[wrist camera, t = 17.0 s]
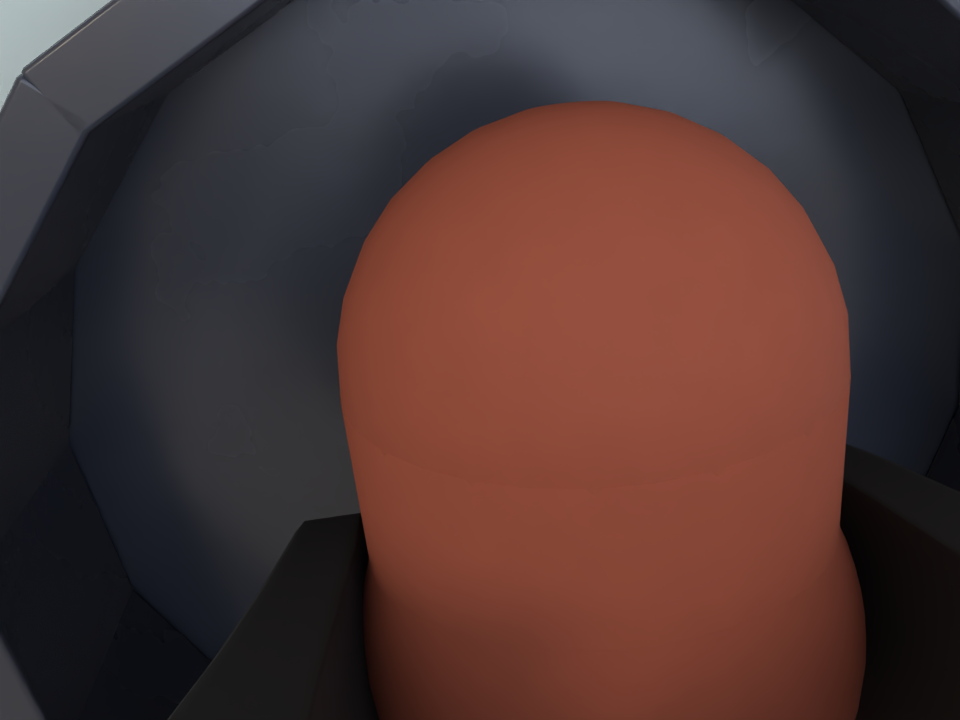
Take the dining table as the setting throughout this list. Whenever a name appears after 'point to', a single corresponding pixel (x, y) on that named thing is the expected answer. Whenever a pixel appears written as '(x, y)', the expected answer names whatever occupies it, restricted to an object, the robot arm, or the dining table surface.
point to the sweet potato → (601, 432)
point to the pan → (333, 255)
